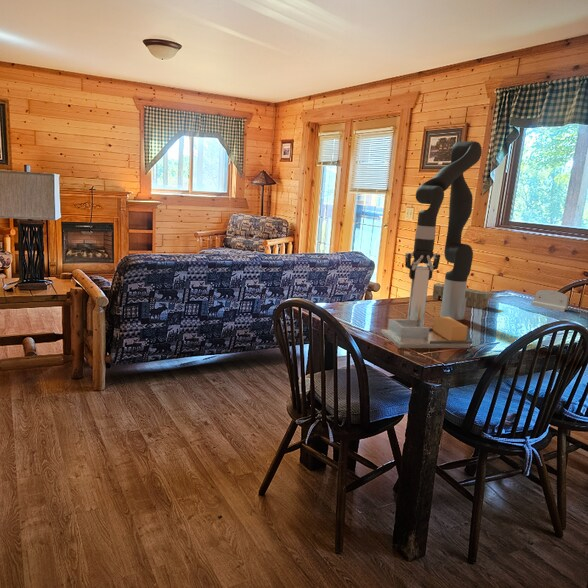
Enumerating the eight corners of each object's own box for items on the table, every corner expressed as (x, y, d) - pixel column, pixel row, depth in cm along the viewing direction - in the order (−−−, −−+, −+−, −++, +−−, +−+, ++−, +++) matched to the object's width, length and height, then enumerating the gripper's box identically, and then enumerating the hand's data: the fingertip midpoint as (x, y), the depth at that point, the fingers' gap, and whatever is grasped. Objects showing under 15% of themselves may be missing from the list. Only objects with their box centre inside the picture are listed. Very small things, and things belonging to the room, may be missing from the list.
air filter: (423, 329, 200) (430, 268, 195) (406, 328, 201) (413, 266, 196) (422, 325, 206) (429, 265, 201) (406, 324, 207) (413, 264, 202)
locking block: (447, 330, 194) (448, 316, 193) (465, 341, 181) (467, 326, 180) (432, 330, 193) (434, 316, 192) (450, 341, 180) (452, 326, 179)
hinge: (530, 304, 262) (535, 286, 262) (533, 306, 265) (538, 288, 265) (564, 311, 250) (570, 292, 251) (567, 313, 254) (572, 294, 254)
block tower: (429, 300, 263) (484, 309, 244) (431, 284, 262) (486, 292, 242) (436, 298, 269) (490, 307, 250) (438, 283, 268) (492, 291, 248)
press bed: (448, 333, 197) (450, 317, 196) (472, 347, 180) (474, 330, 178) (380, 333, 191) (382, 316, 190) (399, 348, 174) (401, 330, 173)
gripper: (437, 237, 201) (432, 278, 205) (403, 235, 198) (399, 277, 202) (446, 239, 194) (441, 281, 197) (411, 237, 191) (407, 280, 195)
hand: (420, 279), depth 200 cm, fingers closed on air filter, 6 cm apart
